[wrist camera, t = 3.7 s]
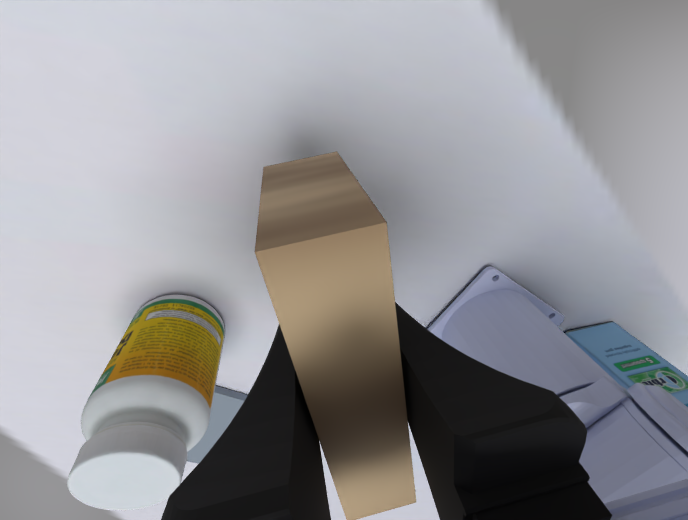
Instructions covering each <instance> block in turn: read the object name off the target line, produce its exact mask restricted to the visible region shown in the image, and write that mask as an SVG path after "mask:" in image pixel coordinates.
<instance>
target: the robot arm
mask: <svg viewBox="0 0 688 520" xmlns="http://www.w3.org/2000/svg"><path fill="white" fill-rule="evenodd" d="M495 275H496V276H495ZM494 276H495V277H494ZM493 277H494V278H493ZM395 307H396V316H397V326H398V335H399V345H400V354H401V363H402V373H403V382H404V392H405V401H406V411H407V420H408V423H409V426H410V429H411V432H412V435H413V438H414V441H415V444H416V447H417V450H418V453H419V456H420V459H421V462H422V465H423V468H424V471H425V474H426V477H427V480H428V483H429V486H430V489H431V492H432V495H433V499H434V502H435V505H436V508H437V511H438V514H439V517H440V520H688V407H687V406H686V405H684V404H683V403H682V402H680V401H679V400H678V399H676V398H675V397H674V396H672V395H671V394H670V393H668V392H667V391H666V390H664V389H663V388H661V387H659V386H653V385H643V384H641V383H635V384H634V385H632V386H631V387H630V388H628V390H627V389H626V388H624V387H622V386H621V385H619V384H618V383H617V382H616V381H615V380H614V379H613V378H612V377H611V376H610V375H609V374H608V373H606V372H605V371H604V370H603V369H602V368H601V367H600V366H599V365H598V364H597V363H596V362H595V361H594V360H593V359H591V358H590V357H589V356H588V355H587V354H586V353H585V352H584V351H583V350H582V349H581V348H580V347H579V346H577V345H576V344H575V343H574V342H573V341H572V340H571V339H570V338H569V337H568V336H567V335H566V334H565V333H564V332H562V331H561V330H560V329H559V328H558V326H559V325H560V324H561V323H562V322H563V321H564V316H563V315H562V314H561V313H560V312H558V311H557V310H555V309H554V308H552V307H551V306H549V305H548V304H547V303H545V302H544V301H542V300H541V299H539V298H538V297H536V296H535V295H533V294H532V293H531V292H529V291H528V290H526V289H525V288H523V287H522V286H520V285H519V284H517V283H516V282H515V281H513V280H512V279H510V278H509V277H507V276H506V275H504V274H503V273H502V272H500V271H499V270H497V269H496V268H494V267H492V266H489V267H486V268H485V269H484V270H483V271H482V272H481V273H480V274H479V275H478V276H477V277H476V278H475V279H474V280H473V282H472V283H471V284H470V285H469V286H468V287H467V288H466V289H465V290H464V291H463V292H462V293H461V294H460V295H459V296H458V297H457V298H456V300H455V301H454V302H453V303H452V304H451V305H450V306H449V307H448V308H447V309H446V310H445V311H444V312H443V313H442V314H441V315H440V316H439V318H438V319H437V320H436V321H435V322H434V323H433V324H432V325H431V326H430V327H429V328H428V329H426V328H425V327H423V326H422V325H421V324H420V323H418V322H417V321H416V320H415V319H414V318H412V317H411V316H410V315H409V314H408V313H407V312H405V311H404V310H403V309H402V308H401V307H400V306H399V305H398V304H397V303H396V302H395ZM161 520H331V517H330V511H329V504H328V498H327V491H326V485H325V478H324V471H323V464H322V458H321V451H320V443H319V438H318V435H317V432H316V429H315V426H314V423H313V420H312V417H311V414H310V411H309V409H308V406H307V403H306V400H305V397H304V394H303V391H302V388H301V385H300V382H299V379H298V377H297V374H296V371H295V368H294V365H293V362H292V359H291V356H290V353H289V350H288V347H287V344H286V342H285V339H284V336H283V333H282V330H281V327H280V324H279V326H278V329H277V332H276V335H275V338H274V341H273V343H272V346H271V348H270V351H269V353H268V356H267V358H266V361H265V363H264V365H263V367H262V369H261V371H260V373H259V375H258V377H257V379H256V381H255V383H254V385H253V387H252V389H251V391H250V392H249V394H248V396H247V397H246V399H245V401H244V403H243V404H242V406H241V407H240V409H239V410H238V412H237V413H236V415H235V417H234V418H233V420H232V421H231V423H230V424H229V425H228V427H227V428H226V430H225V431H224V432H223V434H222V435H221V436H220V438H219V439H218V440H217V442H216V443H215V444H214V445H213V447H212V448H211V449H210V451H209V452H208V453H207V454H206V456H205V457H204V458H203V459H202V461H201V462H200V463H199V464H198V465H197V466H196V468H195V469H194V470H193V471H192V472H191V473H190V474H189V475H188V476H187V477H186V478H185V480H184V481H183V482H182V483H181V484H180V485H179V486H178V487H177V488H176V489H175V490H174V492H173V493H172V494H171V495H170V496H169V499H168V502H167V505H166V508H165V510H164V513H163V516H162V519H161Z"/></svg>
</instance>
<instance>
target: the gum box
mask: <svg viewBox="0 0 688 520" xmlns="http://www.w3.org/2000/svg"><path fill="white" fill-rule="evenodd" d="M566 335H567V336H568V337H569V338H570V339H571V340H572V341H573V342H574V343H575V344H576V345H577V346H579V347H580V348H581V349H582V350H583V351H584V352H585V353H586V354H587V355H588V356H589V357H590V358H591V359H593V360H594V361H595V362H596V363H597V364H598V365H599V366H600V367H601V368H602V369H603V370H604V371H605V372H606V373H608V374H609V375H610V376H611V377H612V378H613V379H614V380H615V381H616V382H617V383H618V384H619V385H621V386H622V387H624V388H626V389H627V390H628V388H630V387H631V386H632V385H634V384H635V383H641V384H643V385H653V386H659V387H661V388H663V389H664V390H666V391H667V392H668V393H670V394H671V395H672V396H674V397H675V398H676V399H678V400H679V401H680V402H682V403H683V404H684V405H686V406H687V407H688V376H687V375H685V374H684V373H683V372H681V371H680V370H678V369H677V368H676V367H674V366H673V365H672V364H670V363H669V362H668V361H666V360H665V359H663V358H662V357H661V356H659V355H658V354H657V353H655V352H654V351H653V350H651V349H650V348H648V347H647V346H646V345H644V344H643V343H642V342H640V341H639V340H637V339H636V338H635V337H633V336H632V335H630V334H629V333H628V332H626V331H625V330H624V329H623V328H621V327H620V326H618V325H617V324H616V323H614V322H608V323H603V324H599V325H594V326H589V327H584V328H580V329H575V330H571V331H567V332H566Z"/></svg>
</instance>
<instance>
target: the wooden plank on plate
mask: <svg viewBox="0 0 688 520" xmlns="http://www.w3.org/2000/svg"><path fill="white" fill-rule="evenodd" d="M255 254H256V257H257V260H258V263H259V266H260V269H261V272H262V275H263V278H264V280H265V283H266V286H267V289H268V292H269V295H270V298H271V301H272V304H273V307H274V310H275V312H276V315H277V318H278V321H279V324H280V327H281V330H282V333H283V336H284V339H285V342H286V344H287V347H288V350H289V353H290V356H291V359H292V362H293V365H294V368H295V371H296V374H297V377H298V379H299V382H300V385H301V388H302V391H303V394H304V397H305V400H306V403H307V406H308V409H309V411H310V414H311V417H312V420H313V423H314V426H315V429H316V432H317V435H318V438H319V441H320V444H321V446H322V449H323V452H324V455H325V458H326V461H327V464H328V467H329V470H330V473H331V476H332V478H333V481H334V484H335V487H336V490H337V493H338V496H339V499H340V502H341V505H342V508H343V510H344V513H345V516H346V519H347V520H356V519H359V518H363V517H366V516H370V515H373V514H377V513H380V512H384V511H387V510H391V509H394V508H398V507H401V506H405V505H409V504H412V503H416V495H415V486H414V477H413V467H412V458H411V448H410V439H409V429H408V420H407V411H406V401H405V392H404V382H403V373H402V363H401V354H400V345H399V335H398V326H397V316H396V307H395V297H394V288H393V279H392V269H391V260H390V250H389V241H388V231H387V222H386V221H385V219H384V218H383V217H382V215H381V214H380V212H379V211H378V209H377V208H376V207H375V205H374V204H373V202H372V201H371V199H370V198H369V197H368V195H367V194H366V192H365V191H364V190H363V188H362V187H361V185H360V184H359V182H358V181H357V180H356V178H355V177H354V175H353V174H352V172H351V171H350V170H349V168H348V167H347V165H346V164H345V162H344V161H343V160H342V158H341V157H340V155H339V154H338V153H337V152H333V153H328V154H323V155H318V156H314V157H309V158H304V159H299V160H294V161H290V162H285V163H280V164H275V165H271V166H266V167H264V168H263V177H262V187H261V197H260V206H259V216H258V226H257V235H256V245H255Z"/></svg>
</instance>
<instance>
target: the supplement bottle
mask: <svg viewBox="0 0 688 520" xmlns="http://www.w3.org/2000/svg"><path fill="white" fill-rule="evenodd" d="M224 336H225V328H224V323H223V321H222V319H221V317H220V316H219V314H218V313H217V312H216V311H215V310H214V308H212V307H211V306H210V305H209V304H207V303H206V302H204V301H202V300H200V299H198V298H195V297H191V296H186V295H167V296H162V297H159V298H156V299H154V300H152V301H150V302H148V303H147V304H145V305H144V306H142V307H141V308H140V309H139V310H138V311H137V313H136V314H135V316H134V318H133V319H132V321H131V323H130V325H129V327H128V329H127V330H126V332H125V334H124V336H123V338H122V340H121V341H120V343H119V345H118V347H117V349H116V351H115V352H114V354H113V356H112V358H111V360H110V361H109V363H108V365H107V367H106V368H105V370H104V372H103V374H102V375H101V377H100V379H99V381H98V383H97V384H96V386H95V388H94V390H93V391H92V393H91V395H90V397H89V399H88V401H87V403H86V405H85V407H84V409H83V413H82V417H81V428H82V433H83V435H84V437H85V439H86V442H85V443H84V444H83V446H82V447H81V449H80V451H79V454H78V456H77V458H76V461H75V463H74V465H73V467H72V469H71V472H70V474H69V477H68V488H69V491H70V492H71V494H72V495H73V496H74V497H75V498H76V499H78V500H79V501H81V502H83V503H85V504H87V505H89V506H92V507H96V508H100V509H106V510H119V511H127V510H137V509H142V508H146V507H150V506H153V505H156V504H158V503H161V502H163V501H165V500H166V499H168V498H169V496H170V495H171V494H172V493H173V492H174V490H175V489H176V488H177V487H178V486H179V485H180V483H181V480H182V476H183V472H184V467H185V464H186V461H187V456H188V454H187V452H188V451H189V450H191V449H192V448H193V447H194V446H195V445H196V444H197V443H198V442H199V441H200V440H201V438H202V437H203V435H204V434H205V432H206V430H207V427H208V424H209V420H210V414H211V409H212V402H213V397H214V391H215V385H216V380H217V375H218V370H219V364H220V358H221V353H222V348H223V342H224Z"/></svg>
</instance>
